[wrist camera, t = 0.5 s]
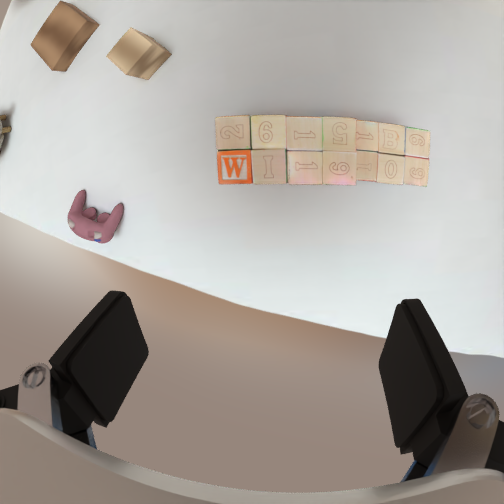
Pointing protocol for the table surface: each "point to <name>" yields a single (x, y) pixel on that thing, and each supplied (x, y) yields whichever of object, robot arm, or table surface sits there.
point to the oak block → (138, 54)
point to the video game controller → (87, 227)
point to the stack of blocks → (319, 151)
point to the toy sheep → (3, 129)
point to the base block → (63, 36)
